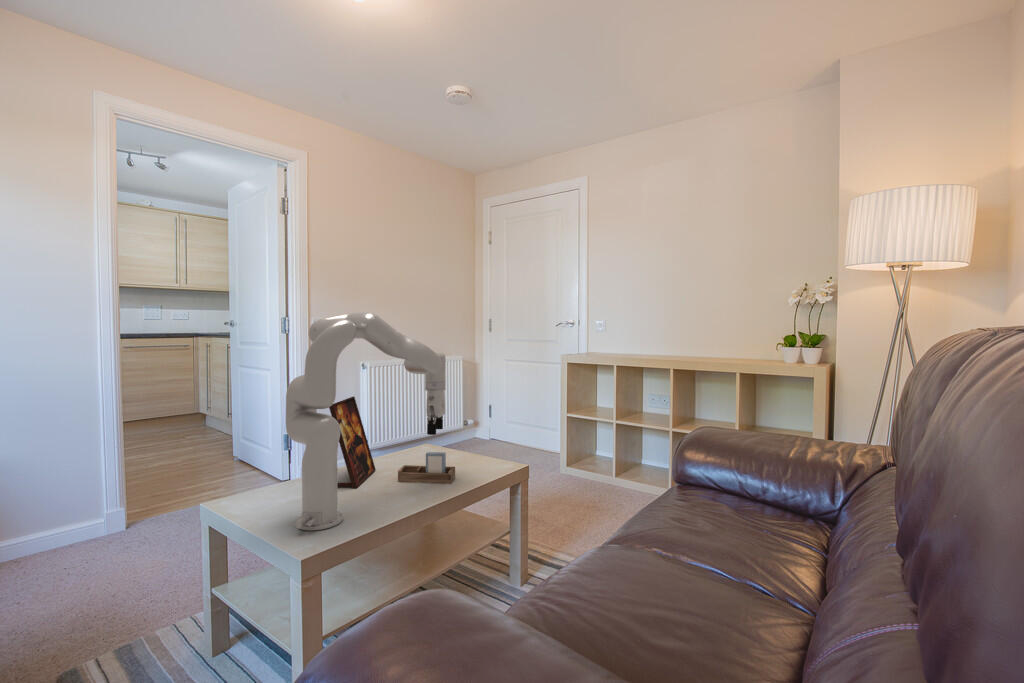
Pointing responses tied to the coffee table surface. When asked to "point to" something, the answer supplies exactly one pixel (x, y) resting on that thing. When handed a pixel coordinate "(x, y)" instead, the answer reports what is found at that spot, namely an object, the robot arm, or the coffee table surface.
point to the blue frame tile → (436, 462)
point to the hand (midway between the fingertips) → (435, 431)
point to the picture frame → (353, 442)
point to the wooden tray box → (424, 475)
